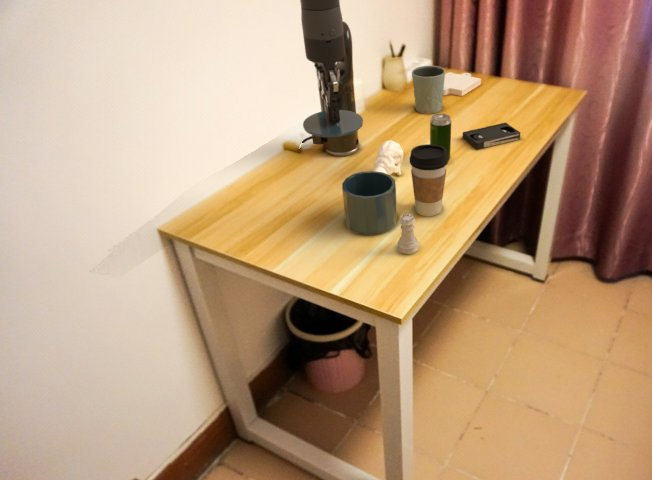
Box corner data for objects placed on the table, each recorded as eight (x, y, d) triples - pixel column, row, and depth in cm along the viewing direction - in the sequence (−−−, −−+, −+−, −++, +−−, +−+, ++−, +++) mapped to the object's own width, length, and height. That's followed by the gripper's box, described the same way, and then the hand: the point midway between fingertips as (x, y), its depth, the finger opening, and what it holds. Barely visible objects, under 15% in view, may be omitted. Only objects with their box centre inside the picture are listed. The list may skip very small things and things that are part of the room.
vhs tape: (476, 149, 148) (477, 143, 147) (462, 138, 154) (462, 132, 152) (520, 139, 152) (521, 132, 151) (505, 128, 158) (505, 122, 157)
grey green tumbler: (449, 106, 173) (451, 68, 165) (434, 117, 166) (434, 78, 159) (422, 100, 177) (422, 63, 170) (406, 111, 170) (405, 73, 163)
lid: (293, 136, 109) (288, 107, 105) (318, 112, 118) (314, 84, 114) (351, 143, 106) (348, 113, 102) (371, 117, 115) (369, 89, 111)
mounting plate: (457, 98, 177) (458, 92, 176) (425, 91, 184) (425, 85, 182) (484, 82, 189) (484, 76, 188) (452, 75, 195) (452, 70, 194)
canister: (338, 231, 119) (333, 193, 113) (356, 204, 127) (353, 168, 122) (387, 238, 116) (385, 200, 110) (402, 210, 125) (401, 174, 119)
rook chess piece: (403, 257, 111) (402, 225, 106) (393, 246, 114) (392, 214, 109) (422, 251, 112) (422, 219, 107) (412, 240, 115) (411, 208, 110)
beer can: (437, 167, 141) (438, 123, 133) (425, 159, 144) (425, 116, 137) (454, 161, 143) (455, 118, 136) (442, 153, 147) (442, 111, 139)
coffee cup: (435, 223, 120) (436, 162, 111) (403, 213, 124) (401, 153, 115) (453, 205, 126) (455, 146, 117) (421, 196, 129) (421, 138, 120)
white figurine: (404, 139, 134) (384, 164, 126) (406, 168, 140) (387, 194, 132) (381, 135, 136) (360, 160, 129) (384, 164, 142) (364, 189, 134)
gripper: (296, 24, 105) (307, 109, 115) (311, 45, 94) (322, 136, 105) (333, 20, 106) (341, 104, 117) (352, 39, 96) (359, 130, 107)
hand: (332, 119), depth 111 cm, fingers closed on lid, 2 cm apart
